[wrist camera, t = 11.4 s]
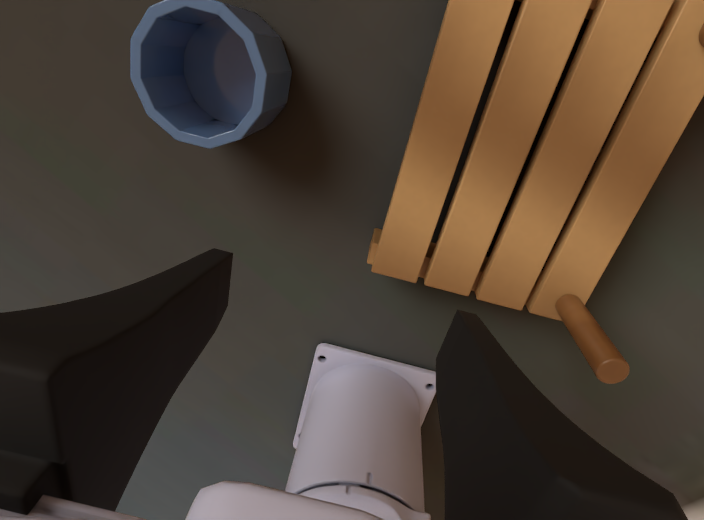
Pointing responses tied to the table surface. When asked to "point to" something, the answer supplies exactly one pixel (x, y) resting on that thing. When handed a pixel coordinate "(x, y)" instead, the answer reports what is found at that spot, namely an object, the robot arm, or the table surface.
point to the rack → (541, 152)
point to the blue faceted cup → (208, 71)
